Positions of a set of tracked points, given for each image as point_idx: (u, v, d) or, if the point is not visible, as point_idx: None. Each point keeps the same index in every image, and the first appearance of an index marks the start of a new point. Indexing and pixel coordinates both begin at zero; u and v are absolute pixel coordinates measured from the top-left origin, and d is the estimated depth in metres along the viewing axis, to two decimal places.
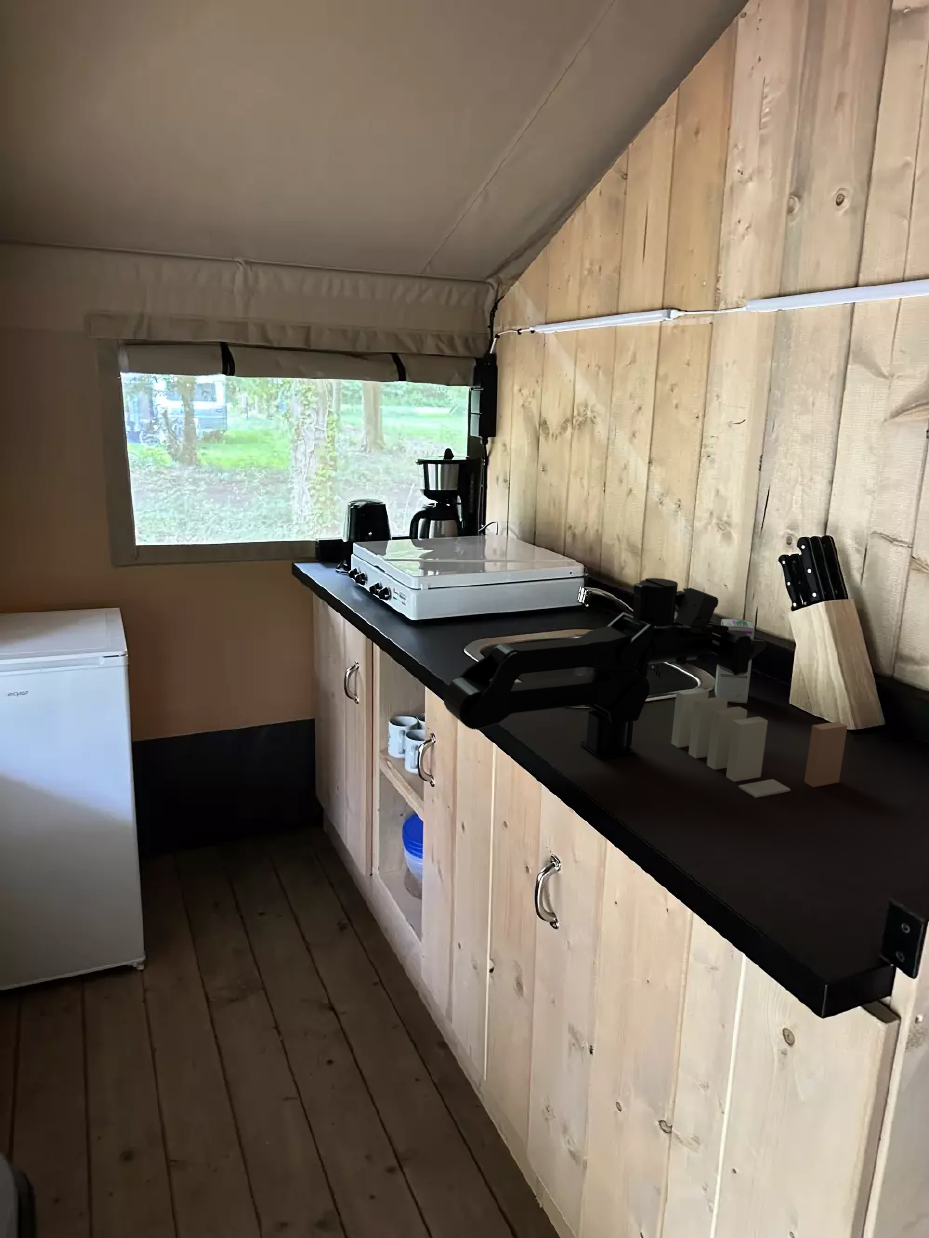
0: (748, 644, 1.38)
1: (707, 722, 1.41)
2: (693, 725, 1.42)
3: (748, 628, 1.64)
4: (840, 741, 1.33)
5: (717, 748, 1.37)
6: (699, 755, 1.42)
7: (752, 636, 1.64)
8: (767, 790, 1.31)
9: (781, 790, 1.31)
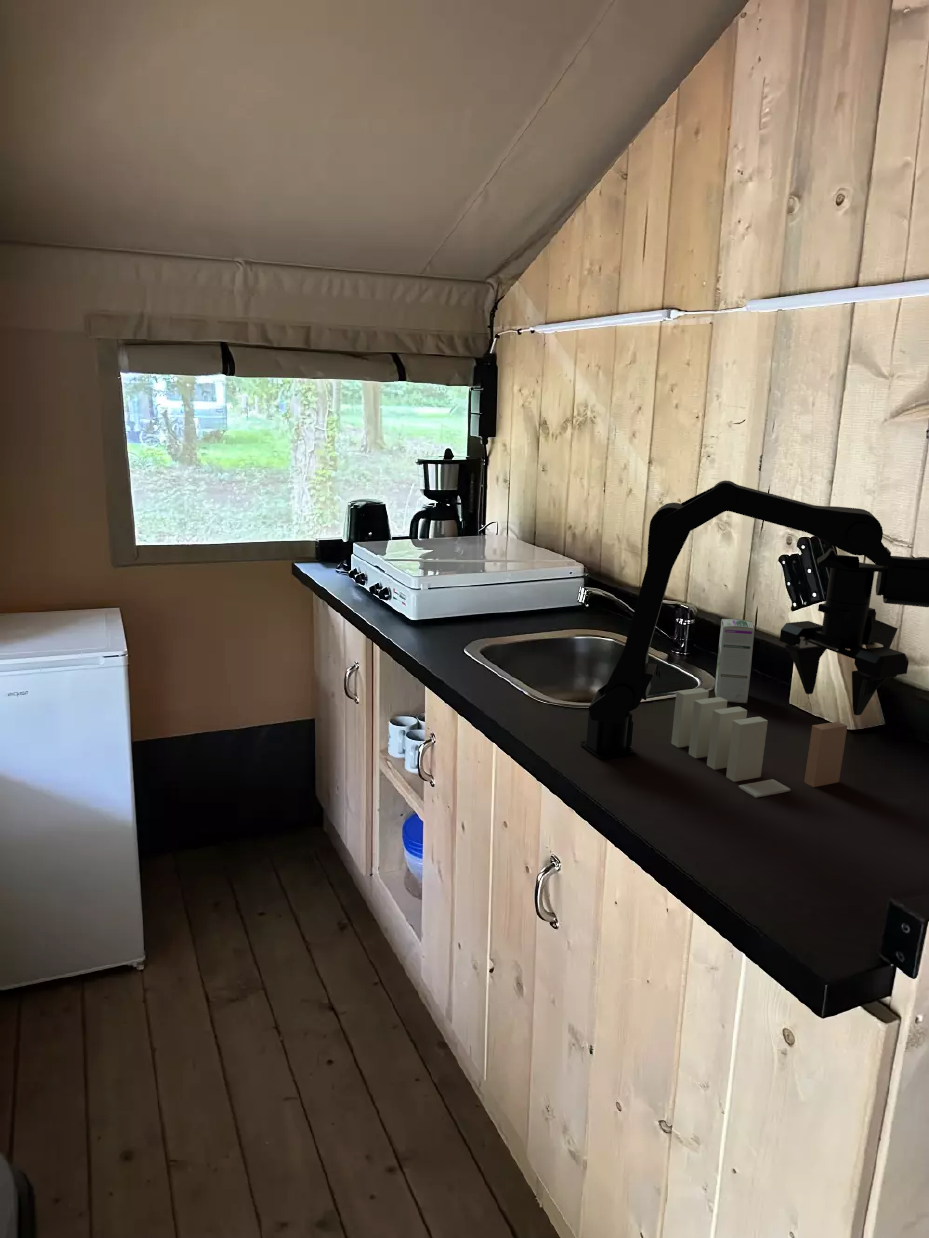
0: (904, 670, 1.22)
1: (707, 722, 1.41)
2: (693, 725, 1.42)
3: (748, 628, 1.64)
4: (840, 741, 1.33)
5: (717, 748, 1.37)
6: (699, 755, 1.42)
7: (752, 636, 1.64)
8: (767, 790, 1.31)
9: (781, 790, 1.31)
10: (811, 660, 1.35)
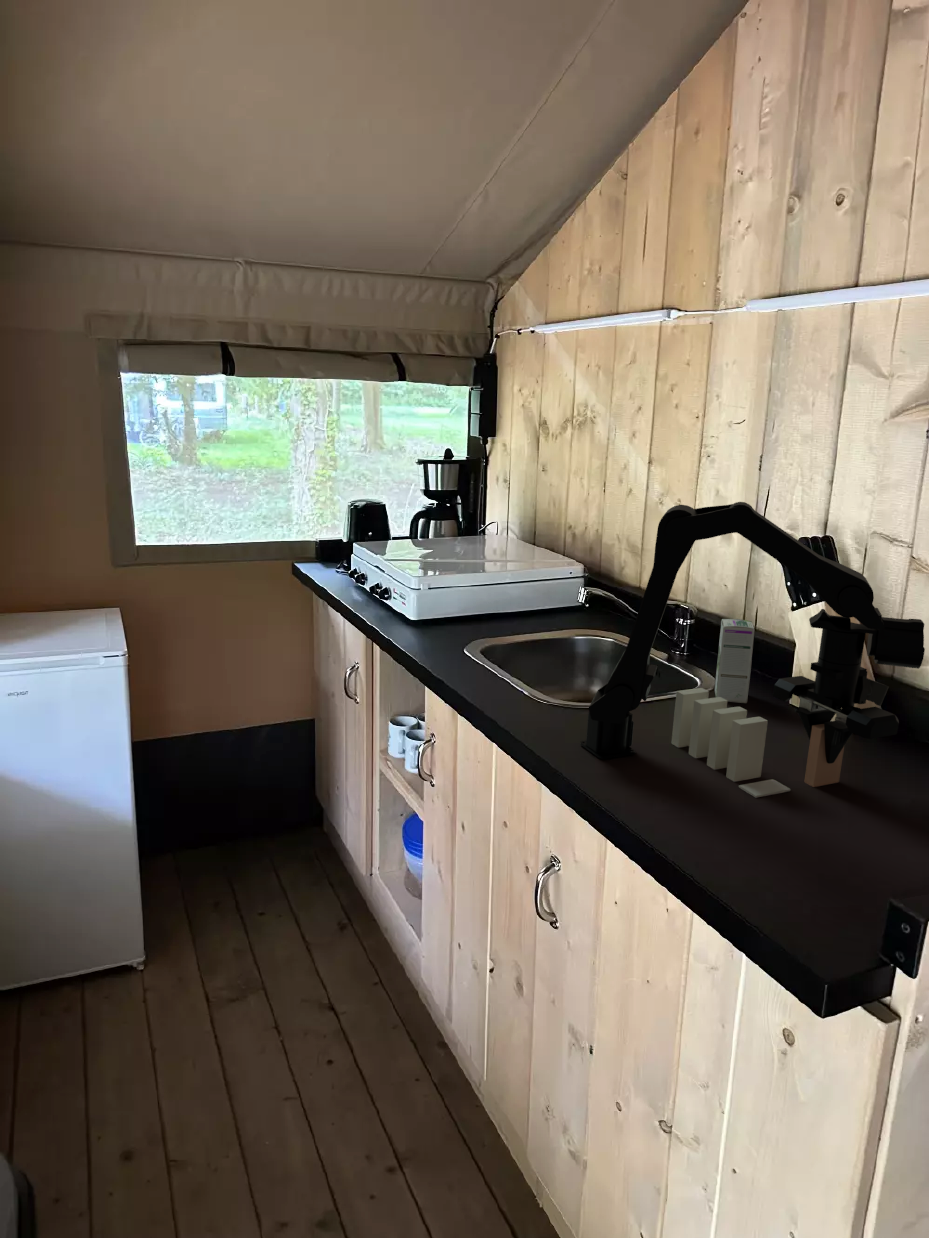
0: (894, 731, 1.24)
1: (707, 722, 1.41)
2: (693, 725, 1.42)
3: (748, 628, 1.64)
4: None
5: (717, 748, 1.37)
6: (699, 755, 1.42)
7: (752, 636, 1.64)
8: (767, 790, 1.31)
9: (781, 790, 1.31)
10: None
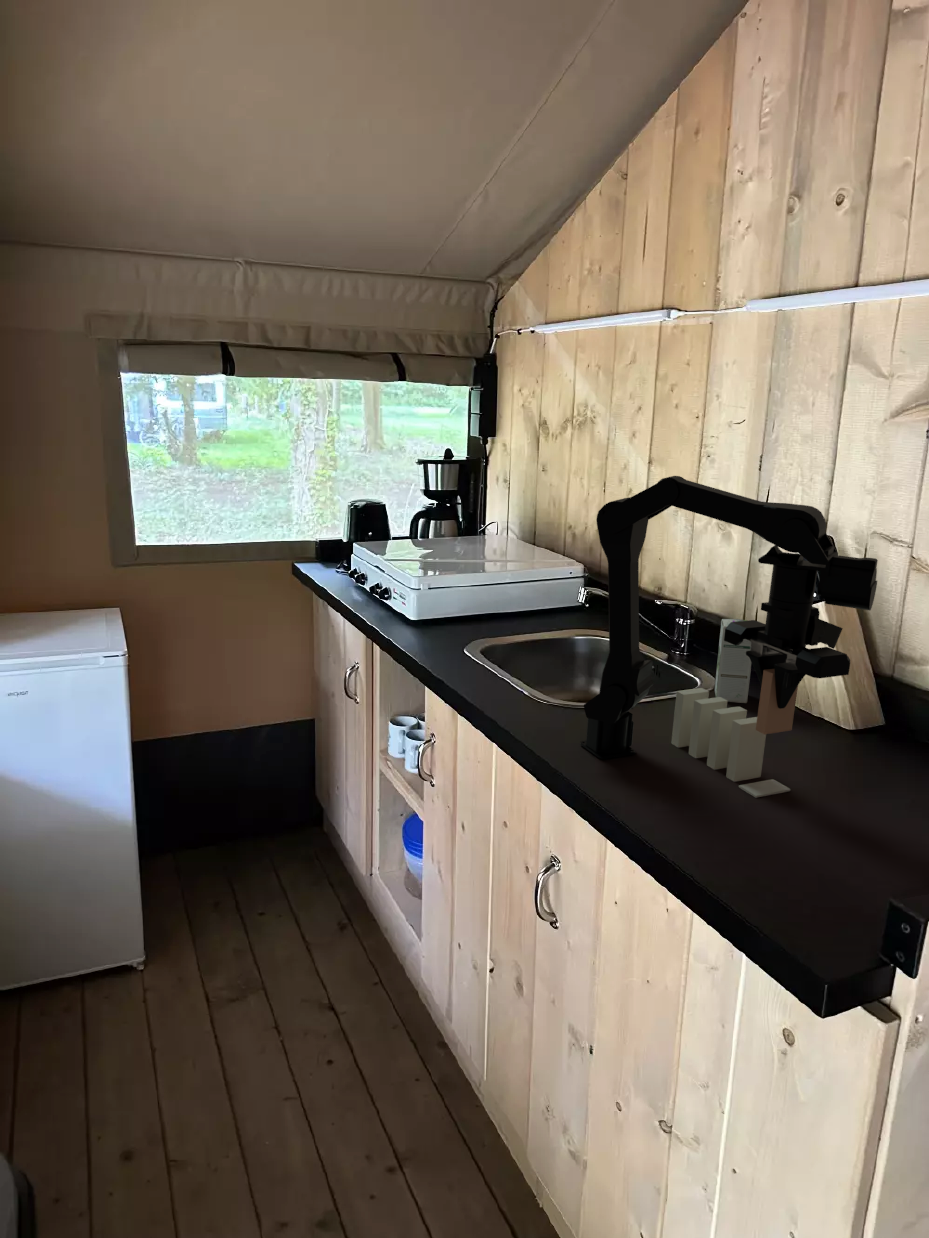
0: (845, 671, 1.19)
1: (707, 722, 1.41)
2: (693, 725, 1.42)
3: None
4: None
5: (717, 749, 1.37)
6: (699, 755, 1.42)
7: None
8: (767, 790, 1.31)
9: (781, 790, 1.31)
10: (773, 668, 1.28)
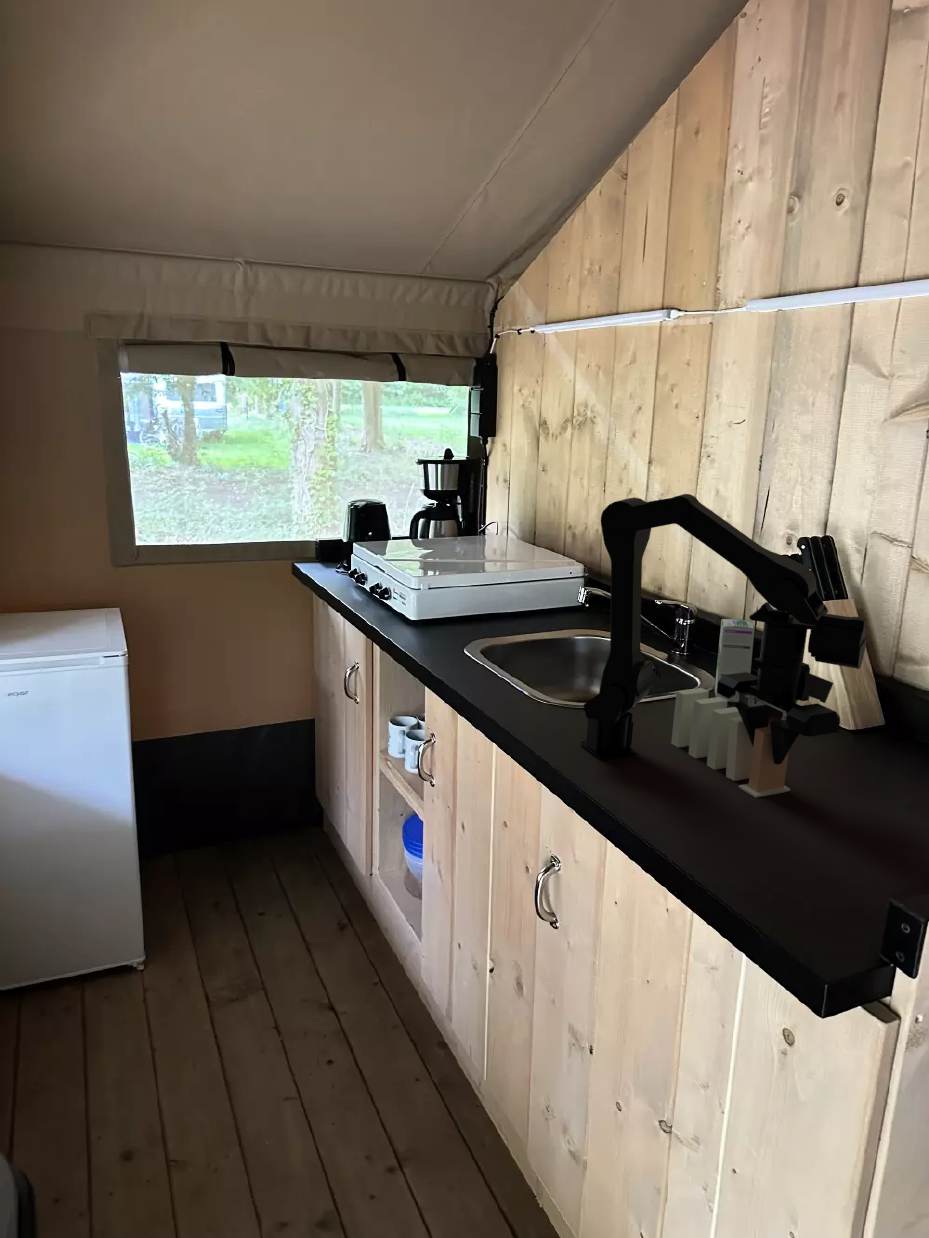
0: (835, 729, 1.21)
1: (707, 722, 1.41)
2: (693, 725, 1.42)
3: (748, 628, 1.64)
4: None
5: (717, 749, 1.37)
6: (699, 755, 1.42)
7: (752, 636, 1.64)
8: (767, 790, 1.31)
9: (781, 790, 1.31)
10: (760, 719, 1.31)
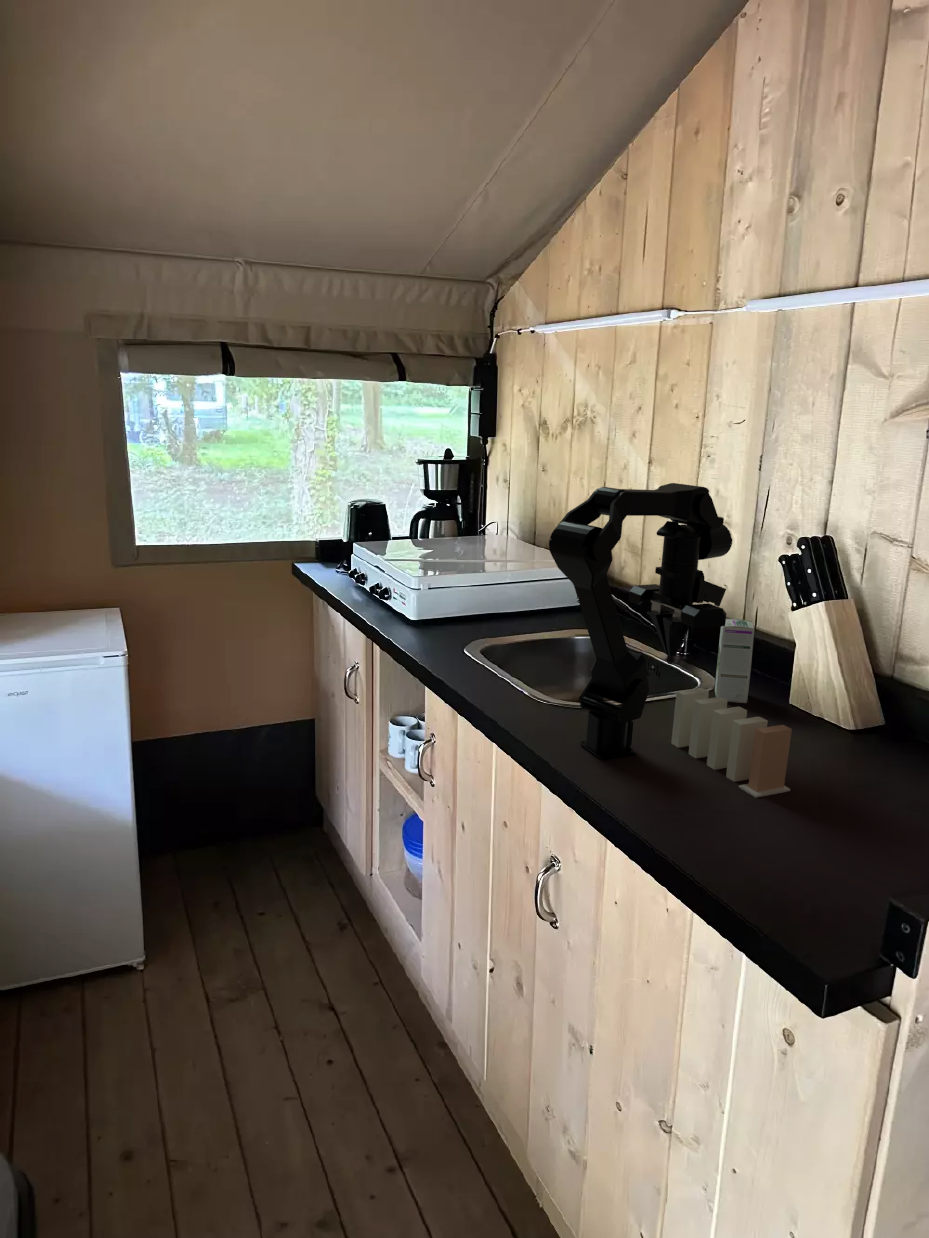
0: (721, 623, 1.40)
1: (707, 722, 1.41)
2: (693, 725, 1.42)
3: (748, 628, 1.64)
4: (784, 745, 1.30)
5: (717, 749, 1.37)
6: (699, 755, 1.42)
7: (752, 636, 1.64)
8: (767, 790, 1.31)
9: (781, 790, 1.31)
10: None
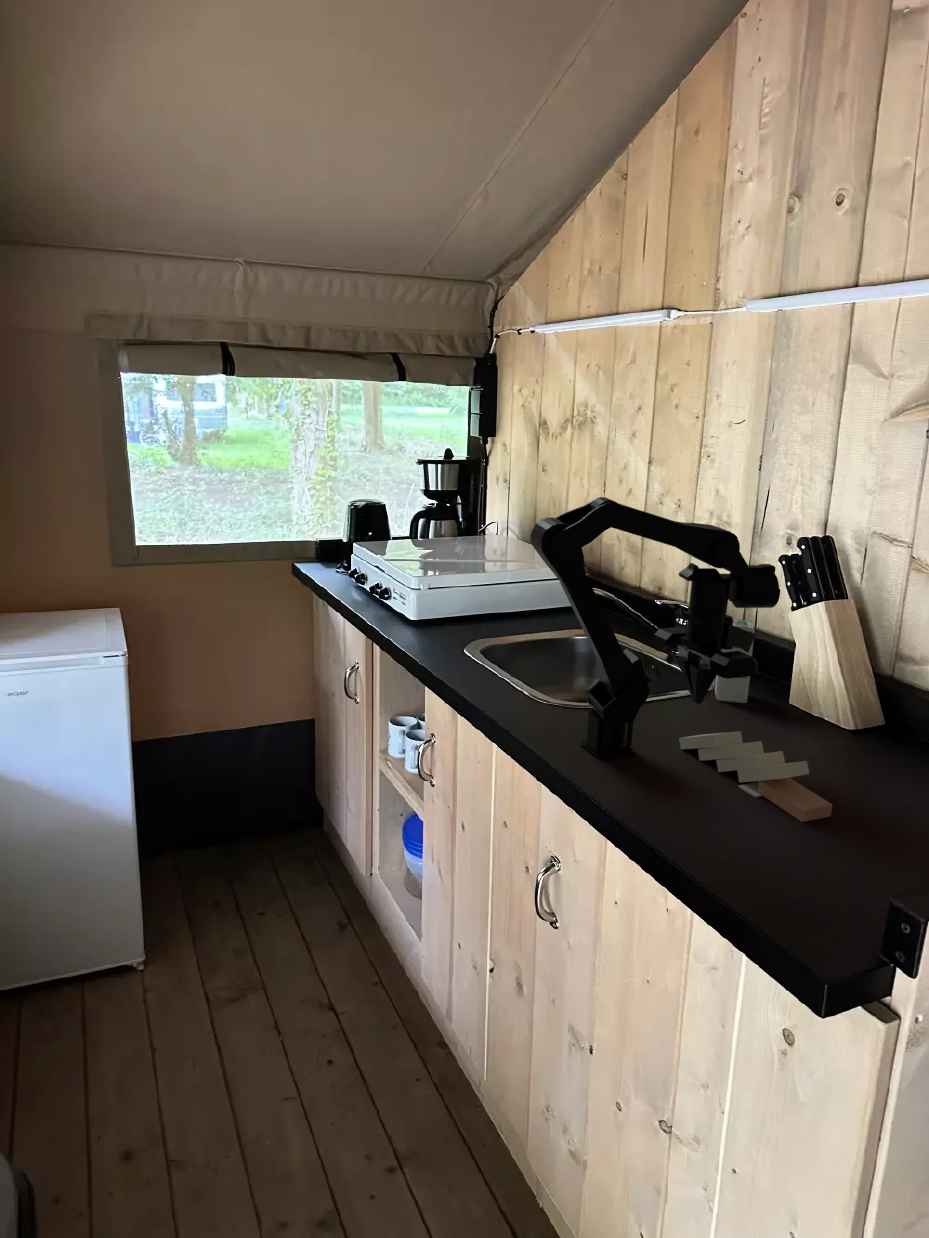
0: (752, 672, 1.35)
1: None
2: (718, 750, 1.37)
3: (748, 628, 1.64)
4: None
5: None
6: None
7: None
8: None
9: None
10: None
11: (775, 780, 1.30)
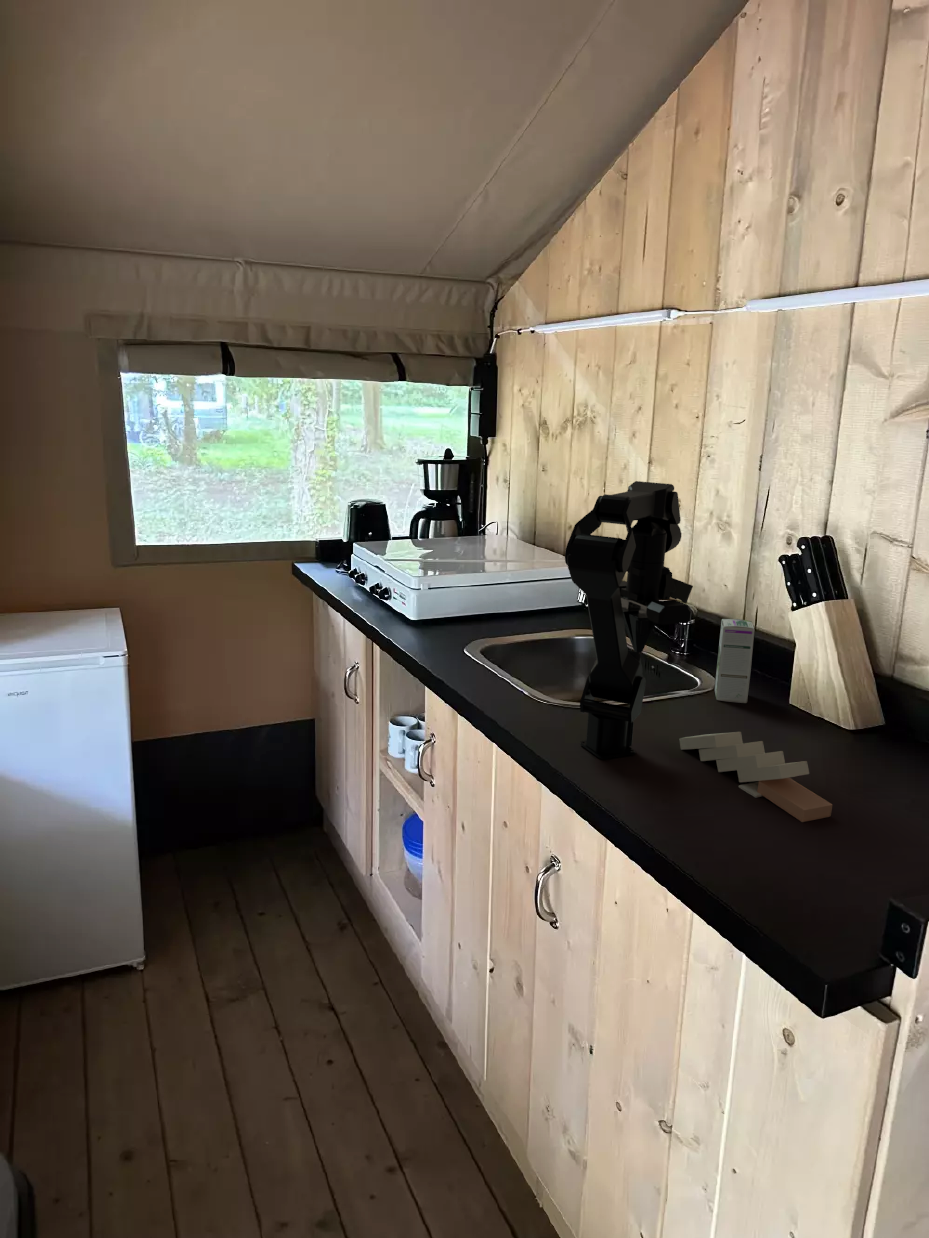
0: (686, 619, 1.42)
1: None
2: (719, 750, 1.36)
3: (748, 628, 1.64)
4: None
5: None
6: None
7: (752, 636, 1.64)
8: None
9: None
10: None
11: (775, 780, 1.30)
